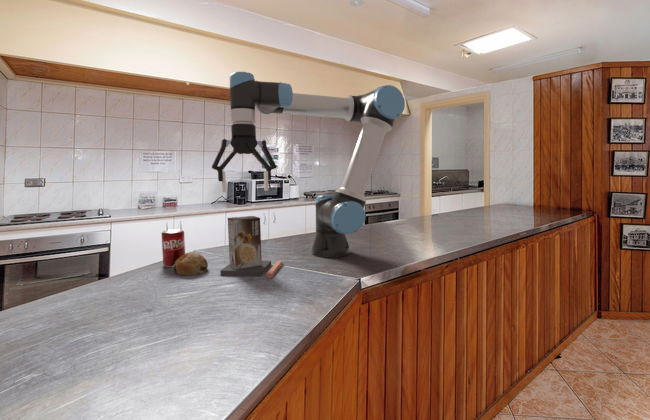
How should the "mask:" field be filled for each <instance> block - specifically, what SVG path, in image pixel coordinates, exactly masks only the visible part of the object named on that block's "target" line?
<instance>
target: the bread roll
mask: <svg viewBox="0 0 650 420" xmlns="http://www.w3.org/2000/svg"><path fill="white" fill-rule="evenodd" d="M208 268H209V266H208V261H207V259H206V258H205V256H204V255H202V254H201V253H199V252H197V253H195V252H188V253H185V254H184V255H182V256H181V257H180V258H178V259H177V260H176V261H175V264H174V265H173V267H172V269H173V270H174V272H175V274H177V275H180V276H195V275H201V274H203V273H205V272H206V271H207V270H208Z"/></svg>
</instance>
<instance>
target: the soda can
mask: <svg viewBox="0 0 650 420" xmlns="http://www.w3.org/2000/svg"><path fill="white" fill-rule="evenodd" d="M160 234H161V249H162V250H161V251H162V254H161V255H162V265H163V266H164V267H165V268H173V265H174V264H175V261H176V260H177V259H178V258H180V257H181V256H182V255H184V254H186V241H185V238H186V237H185V231H184V229H167V230H162V232H161V233H160Z"/></svg>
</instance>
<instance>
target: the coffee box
mask: <svg viewBox="0 0 650 420" xmlns="http://www.w3.org/2000/svg"><path fill="white" fill-rule="evenodd" d="M227 231H228V232H227V236H228V237H227V238H228V254H229V255H228V256H229V257H228V259H229V264H230V266H231V267H233V268H234V269H242V268H248V267H254V266H261V265H262V261H263V260H262V258H263V256H262V235H261V234H262V233H261V217H259V216H254V215H250V216H249V215H248V216H247V215H246V216H235V217H234V216H233V217H227Z"/></svg>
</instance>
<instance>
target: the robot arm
mask: <svg viewBox="0 0 650 420" xmlns="http://www.w3.org/2000/svg"><path fill="white" fill-rule="evenodd" d="M229 101H230V102H229V103H230V122H231V126H230V129H231V139H230V140H229V139H226V138H224V139H222V140H221V143H220V148H219V151H217V155H216V157H215V158H214V161H213V163H212V165H211V169H213V170H215V171H217V180H218V182H221V191H222V193H226V192H227V180H226V178H227V177H226V171H225V170H224V169H225V167H227V165H228V164H229V163H230V161H231V160H233V158H234V157H235V156H236V154H239V155H243V154H245V155H250V154H252V156H254V157H255V158H254V159H256V160H257V161H258V162H259V163H260V165H262V167H263V168H264V169H265V170H263V190H264V191H265V192H269V191H270V190H269V189H270V188H269V181H272V171H273V170H274V169H276V168H277V164H276V162H275V160H274V159H273V158H274V157H272V155H271V153H270V151H269V149H268V146H267V141H266V139H262V140H257V131H256V130H257V127H256V125H255V124H256V110H257V111H258V112H259V113H261V114H263V115H271V114H280V115H281V114H285V115H295V116H296V115H297V116H298V115H299V116H310V117H322V118H323V117H324V118H336V119H344V120H345V122H352V123H360V124H362V127H361V129H360V133H359V135H358V139H357V141H356V144H355V146H354V150H353V152H352V156H351V158H350V162H349V163H348V165H347V166H348V167H347V169H346V173H345V175H344V177H343V181H342V183H341V187H340V188H338V189H337V190H335V191H334V194H324V195H323V194H322V195H318V196H317V197H316V198H315V203H314V205H315V235H314V238H313V242H312V245H311V255H313V256H316V257H323V258H340V257H345V256H348V255H350V254H351V253H350V245H349V242H348V239H347V235H352V234H355V233H357V232H358V231H360V230H361V228H362V227H363V226H364V223H366V215H367V214H366V212H365V205H366V203H367V200H366V198H365V193H366V189H367V188H368V184H369V181H370V179H371V175H372V172H373V171H374V168H375V164H376V161H377V159H378V157H379V153H380V150H381V147H382V145H383V143H384V139H385V136H386V134H387V133H388V132H390V131H392V129H393V128H394V127H393V126H394V124H395V121H396V119H398V118H400V116H401V115H402V114H403V113H404V111H405V109H406V102H405V101H406V100H405V98H404V95H403V93H402V91H401V89H399V88H398V87H397V86H395V85H391V84H385V85H381V86H378V87H377V88H375V89H373V90H371V91H369V92H367V93H364V94H359V95H348V96H347V97H341V96H328V95H318V94H307V93H297V92H293V87H292V85H291V84H290V83H286V82H281V81H280V82H276V81H275V82H273V81H259V80H255V75H254V74H252V73H251V72H248V71H234V72H232V73H231V74H230V75H229ZM229 145H231V147H232V148H233V149H232V150H231V151H230V153H229V154H228V156H226V157H225V159H224V160H223V162H221V163H220V161H221V159H222V157H223V154H225V151H226V148H227V147H229ZM257 146H259V147H260V148H261V150H262V153H263V155H264V157H265V158H266V160H265V159H264V158H263V156H262V155H261V154H260V153H259V151H258V150H257V148H256V147H257ZM219 163H220V165H219Z"/></svg>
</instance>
